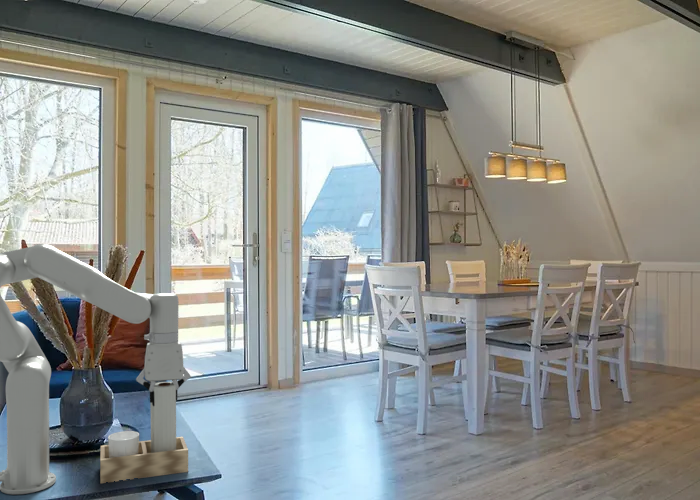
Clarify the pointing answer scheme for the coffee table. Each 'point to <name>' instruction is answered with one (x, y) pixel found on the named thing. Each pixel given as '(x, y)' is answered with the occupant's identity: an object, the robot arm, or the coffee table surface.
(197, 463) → the coffee table surface
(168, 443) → the paper towel roll
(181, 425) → the coffee table surface
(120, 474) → the wooden caddy
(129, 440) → the white cup
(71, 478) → the coffee table surface
